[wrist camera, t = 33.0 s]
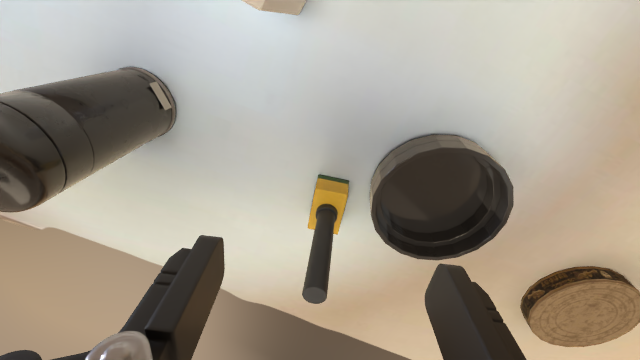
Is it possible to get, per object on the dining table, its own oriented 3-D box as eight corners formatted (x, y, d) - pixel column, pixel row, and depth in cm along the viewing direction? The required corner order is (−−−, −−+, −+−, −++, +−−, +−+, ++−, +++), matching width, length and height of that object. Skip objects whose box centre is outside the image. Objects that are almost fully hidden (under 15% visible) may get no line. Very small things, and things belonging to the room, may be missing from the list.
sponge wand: (338, 218, 45) (330, 322, 30) (311, 212, 45) (287, 313, 30) (348, 180, 42) (344, 275, 26) (318, 174, 42) (296, 265, 26)
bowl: (405, 252, 47) (410, 275, 43) (347, 174, 41) (346, 192, 37) (514, 206, 41) (533, 228, 37) (464, 107, 35) (480, 119, 31)
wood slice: (604, 334, 51) (617, 350, 48) (509, 327, 53) (517, 342, 50) (650, 269, 44) (669, 284, 41) (537, 263, 45) (548, 278, 43)
